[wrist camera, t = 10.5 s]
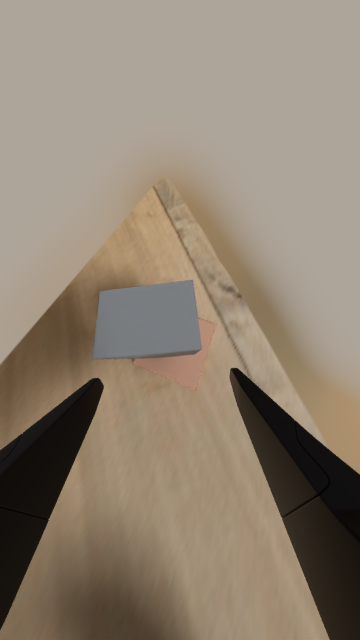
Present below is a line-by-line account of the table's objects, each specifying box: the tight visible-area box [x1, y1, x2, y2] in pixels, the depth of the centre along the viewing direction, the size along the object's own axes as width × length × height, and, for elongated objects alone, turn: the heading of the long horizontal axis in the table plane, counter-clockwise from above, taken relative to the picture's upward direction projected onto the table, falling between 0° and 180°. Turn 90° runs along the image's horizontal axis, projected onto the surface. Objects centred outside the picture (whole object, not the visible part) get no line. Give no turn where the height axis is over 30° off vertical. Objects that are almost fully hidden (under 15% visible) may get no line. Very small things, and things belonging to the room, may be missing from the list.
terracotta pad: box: [133, 318, 216, 390], centre depth 18 cm, size 9×9×1 cm
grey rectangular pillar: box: [93, 280, 202, 359], centre depth 12 cm, size 4×5×12 cm
